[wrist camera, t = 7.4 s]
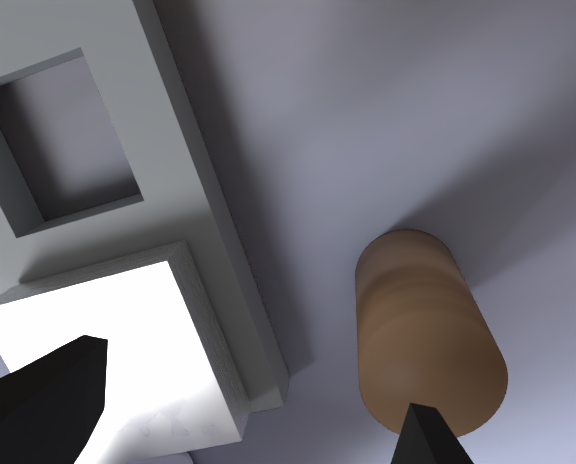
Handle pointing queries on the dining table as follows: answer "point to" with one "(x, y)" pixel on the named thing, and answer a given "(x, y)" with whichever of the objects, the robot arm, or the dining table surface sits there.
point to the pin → (423, 336)
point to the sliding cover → (137, 351)
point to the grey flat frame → (147, 171)
